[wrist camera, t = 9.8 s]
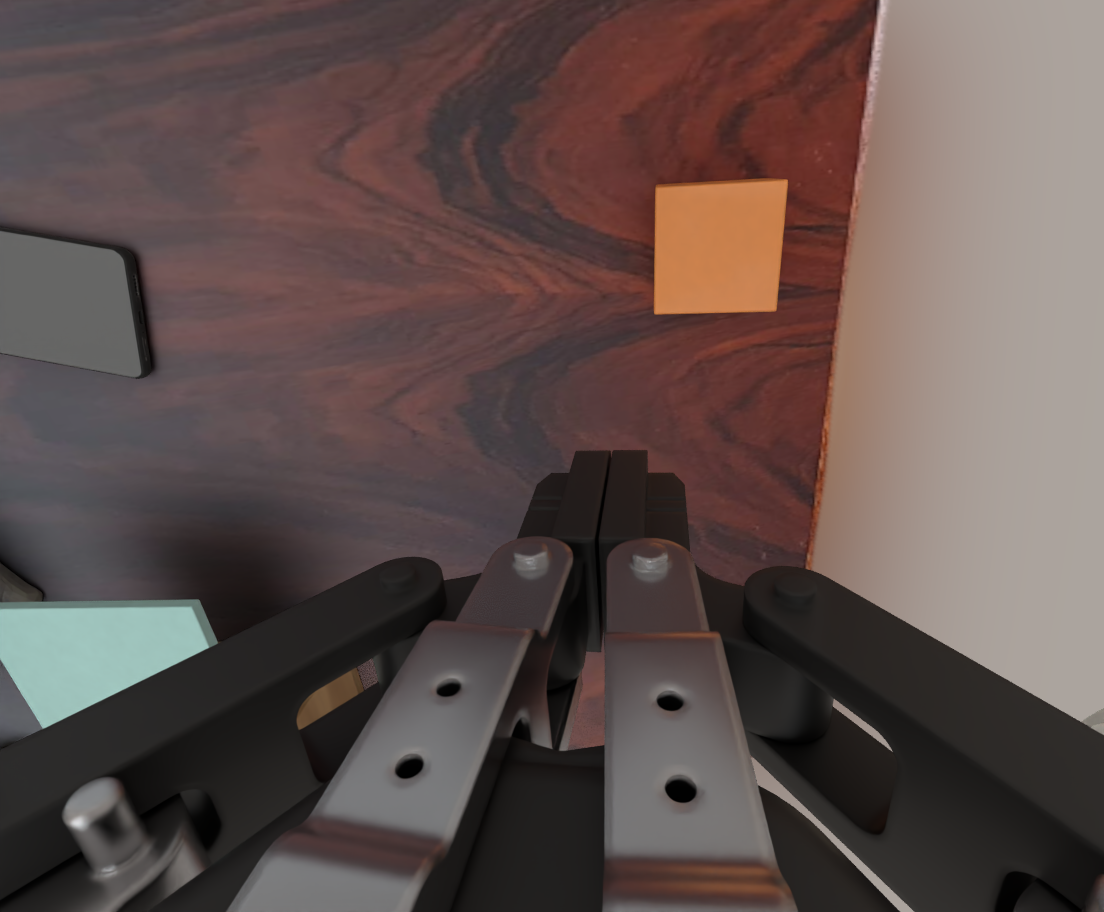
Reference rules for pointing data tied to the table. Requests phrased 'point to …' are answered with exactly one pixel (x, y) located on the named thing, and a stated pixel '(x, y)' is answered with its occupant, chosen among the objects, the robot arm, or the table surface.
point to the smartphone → (71, 304)
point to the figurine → (16, 588)
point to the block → (718, 246)
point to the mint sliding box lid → (94, 648)
